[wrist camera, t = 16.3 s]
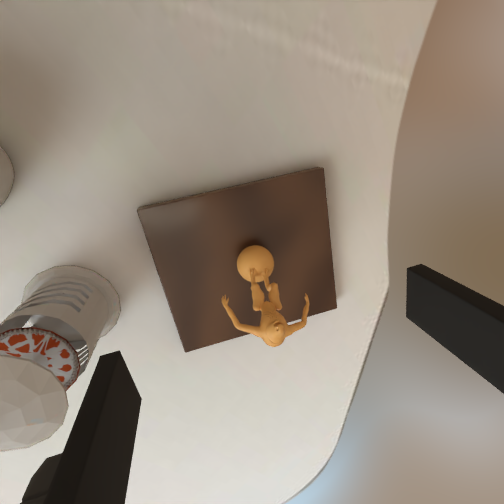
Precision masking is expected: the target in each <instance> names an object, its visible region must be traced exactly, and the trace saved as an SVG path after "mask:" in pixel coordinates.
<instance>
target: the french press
mask: <svg viewBox="0 0 504 504" xmlns="http://www.w3.org/2000/svg"><path fill="white" fill-rule="evenodd" d="M21 303H22V304H21V305H20V306H18V307H17V309H16V310H15V311H14V312H13V313H12V314H10V315H11V316H10V315H9V316H8V317H7V318H6V319H5V320H4V321H3V322H2V323H3V324H2V323H1V324H0V451H9V450H15V449H22V448H28V447H31V446H33V445H35V444H37V443H39V442H41V441H43V440H46V439H48V438H50V437H51V436H52V435H53V434H54V433H55V432H56V431H57V430H58V429H59V428H60V426H61V425H62V424H63V422H64V419H65V416H66V413H67V410H68V401H67V396H66V391H67V390H68V388H69V387H70V386H71V385H72V384H73V383H74V382H75V381H76V380H77V378H78V377H79V376H80V375H81V374H82V373H83V372H84V370H85V369H86V367H87V364H88V362H89V360H90V358H91V356H92V353H93V350H94V349H95V347H96V344H97V342H98V340H99V339H98V338H100V337H102V336H105V335H106V334H107V333H108V332H109V331H110V330H111V329H112V328H113V327H114V326H115V324H116V322H117V319H118V316H119V313H120V304H119V297H118V294H117V293H116V291H115V290H114V288H113V287H112V285H111V284H110V282H109V281H108V280H106V279H105V278H103V277H102V276H100V275H99V274H97V273H96V272H94V271H92V270H88V269H85V268H81V267H77V266H60V267H53V268H50V269H48V270H46V271H44V272H41V273H39V274H37V275H36V276H35V277H34V278H33V279H32V280H31V281H30V283H29V284H28V285H27V286H26V287H25V290H24V294H23V298H22V302H21ZM27 321H28V322H29V323H30V324H31V325H32V326H31V327H28V328H22V327H23V326H24V324H25V323H26V322H27ZM86 344H87V347H85V348H84V349H82V350H81V351H79V352H76V350H77V349H81V348H82V347H84V346H85V345H86ZM94 346H95V347H94ZM87 348H88V350H87V351H86V352H84V353H83V354H82V355H81V356H79V357H78V355H79V354H80V353H82V352H83V351H85V350H86V349H87ZM87 353H88V355H87V356H85V357H84V358H83V359H82V360H80V361H79V359H81V358H82V357H83V356H84V355H86V354H87ZM87 357H88V359H87V360H86V361H85V362H84V364H82V365H81V366H80V364H81V363H82V362H83V361H84V360H85V359H86V358H87Z"/></svg>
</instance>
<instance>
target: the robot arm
mask: <svg viewBox="0 0 504 504" xmlns="http://www.w3.org/2000/svg"><path fill="white" fill-rule="evenodd" d="M406 302H407V304H406V317H407V318H408V319H409V320H411V321H412V322H413V323H415V324H416V325H417V326H418V327H420V328H421V329H422V330H424V331H425V332H426V333H427V334H429V335H430V336H431V337H432V338H434V339H435V340H436V341H437V342H439V343H440V344H441V345H443V346H444V347H445V348H446V349H448V350H449V351H450V352H452V353H453V354H454V355H456V356H457V357H458V358H459V359H460V360H462V361H463V362H464V363H465V364H467V365H468V366H469V367H471V368H472V369H473V370H474V371H476V372H477V373H478V374H479V375H481V376H482V377H483V378H485V379H486V380H487V381H488V382H490V383H491V384H492V385H493V386H495V387H496V388H497V389H499V390H500V391H501V392H502V393H504V306H503V305H501V304H499V303H497V302H495V301H493V300H491V299H489V298H487V297H485V296H483V295H481V294H479V293H477V292H475V291H473V290H471V289H470V288H468V287H466V286H464V285H462V284H460V283H458V282H456V281H454V280H452V279H450V278H448V277H446V276H444V275H442V274H440V273H438V272H436V271H434V270H432V269H431V268H429V267H427V266H425V265H422V264H420V265H416V266H413V267H409V268H407V301H406ZM141 400H142V399H141V397H140V395H139V392H138V390H137V388H136V386H135V383H134V381H133V379H132V377H131V375H130V372H129V370H128V368H127V366H126V364H125V361H124V359H123V357H122V355H121V352H120V351H116V352H113V353H109V354H106V355H102V356H100V358H99V361H98V363H97V366H96V368H95V371H94V374H93V376H92V379H91V381H90V384H89V386H88V389H87V392H86V394H85V397H84V399H83V402H82V404H81V407H80V410H79V412H78V415H77V417H76V420H75V423H74V425H73V428H72V430H71V433H70V435H69V438H68V441H67V443H66V446H65V448H64V451H63V453H61V454H58V455H55V456H52V457H49V458H46V460H45V461H44V462H43V464H42V465H41V466H40V468H39V469H38V470H37V471H36V473H35V474H34V475H33V477H32V478H31V480H30V482H29V485H28V487H27V489H26V491H25V493H24V496H23V498H22V503H20V504H125V498H126V492H127V486H128V479H129V473H130V467H131V461H132V455H133V449H134V443H135V437H136V430H137V424H138V418H139V412H140V406H141Z"/></svg>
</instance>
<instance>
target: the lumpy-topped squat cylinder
mask: <svg viewBox="0 0 504 504" xmlns="http://www.w3.org/2000/svg"><path fill="white" fill-rule="evenodd" d="M13 181H14V170H13V166H12V163H11V161H10V159H9V157H8V155H7V154H6V152H5V151H4V150H3V149H2V148H1V147H0V206H1V205H2V204H3V203H4V201H5V200H6V198H7V197H8V195H9V193H10V190H11V188H12V185H13Z"/></svg>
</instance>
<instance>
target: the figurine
mask: <svg viewBox="0 0 504 504" xmlns="http://www.w3.org/2000/svg"><path fill="white" fill-rule="evenodd" d="M273 268H274V260H273V257H272V255H271V253H270V252H269V251H268V250H267V249H266V248H264V247H262V246H258V245H253V246H249V247H247V248H245V249H244V250H243V251H242V252H241V253H240V254H239V256H238V259H237V269H238V271H239V273H240V275H241V276H242V277H243V278H244V279H245V280H247V281H250V282H251V290H252V299H253V309H254V310H255V311H259V310H261V314H262V316H261V321H260V326H257V327H256V326H251V325H246V324H240V322H239V321H238V319H237V318H236V316H235V314H234V312H233V311H232V309H231V308H230V307H229V306H228V301H229V298H228V299H227V301H226V295H225V299H224V296H223V297H222V298H223V300H222V298H221V300H222V304H223V306H224V308H225V309H226V311H227V313H228V315H229V316H230V318H231V320H232V321H233V324H234V326H235V327H236V328H237V329H238V330H241V331H244V332H247V333H251V334H254V335H255V336H257V337H261V338H262V339H263V340H264V342H265V343H266V344H267V345H269V346H272V347H276V346H279V345H281V344H282V343H283V341H284V339H285V338H286V337H287V336H289V335H291V334H292V333H293V332H295V331H297V330H299V329H301V328H303V327H304V326H305V325H306V322H307V314H308V311H309V299H308V295H307V294H306V293H305V295H306V297H305V300H306V305H305V307H304V309H303V315H302V321H301V322H297V323H294V324H292V325H288V324H287V322H286V320H285V319H284V317H283V316H282V315H281V314H280V313H278V311H276V310H281V309H282V305H281V302H280V298H279V290H278V285H277V284H276V283H271V284H269V278H268V277H269V276H270V275H271V273H272V271H273ZM261 281H264V283H265V287H266V289H267V291H269V294H268V297H269V300H270V302H269V301H265V302H264V293H263V291H262V290H261V289H260V286H259V285H258V284H257V283H256V282H261Z"/></svg>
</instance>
